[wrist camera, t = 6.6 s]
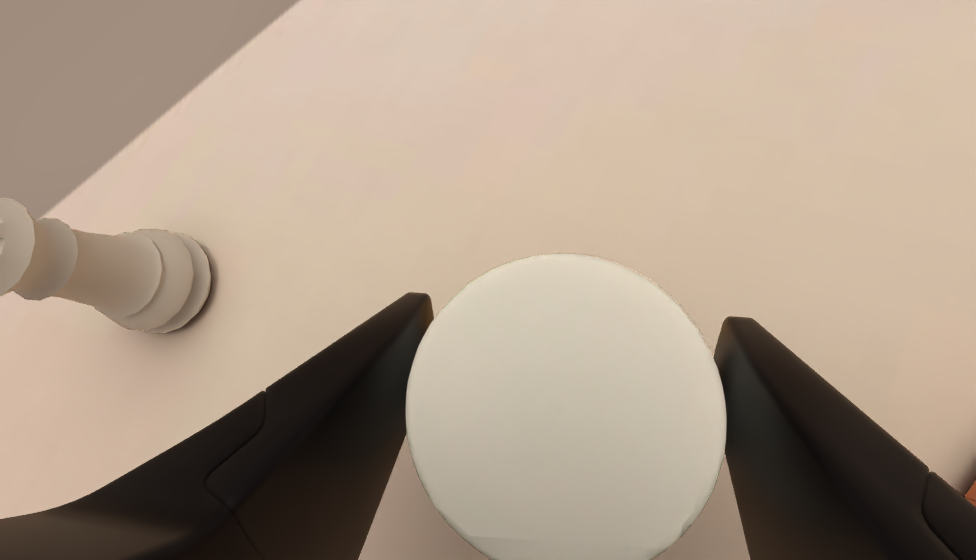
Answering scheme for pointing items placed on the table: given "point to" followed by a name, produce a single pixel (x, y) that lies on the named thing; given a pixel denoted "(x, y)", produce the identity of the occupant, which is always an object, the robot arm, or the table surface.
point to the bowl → (972, 494)
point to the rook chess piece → (104, 269)
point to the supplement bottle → (566, 412)
